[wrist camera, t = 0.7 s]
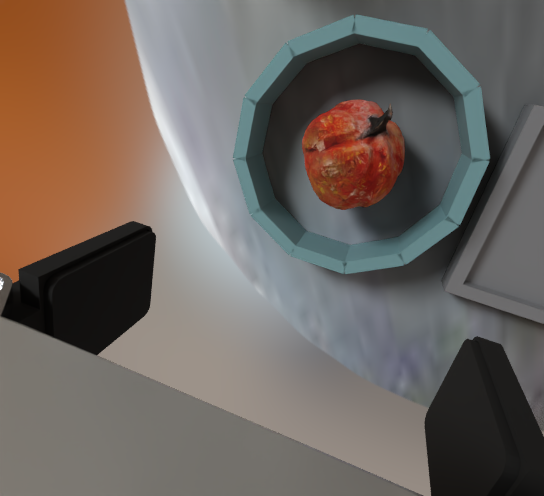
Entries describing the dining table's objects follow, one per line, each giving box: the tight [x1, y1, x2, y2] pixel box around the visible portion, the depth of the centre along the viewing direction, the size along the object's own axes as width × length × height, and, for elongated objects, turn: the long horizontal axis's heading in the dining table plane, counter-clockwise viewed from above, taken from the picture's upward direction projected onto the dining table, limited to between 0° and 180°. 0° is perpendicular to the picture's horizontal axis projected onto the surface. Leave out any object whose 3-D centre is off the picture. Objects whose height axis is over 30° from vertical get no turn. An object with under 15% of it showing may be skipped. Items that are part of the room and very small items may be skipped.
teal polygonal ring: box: [233, 14, 490, 274], centre depth 28 cm, size 17×17×4 cm
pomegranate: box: [302, 99, 405, 210], centre depth 27 cm, size 7×7×10 cm
